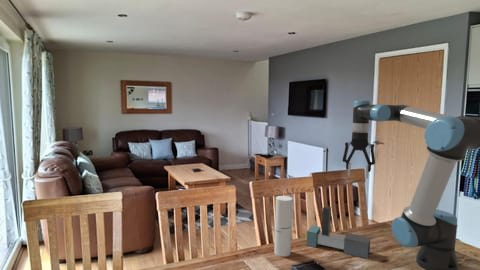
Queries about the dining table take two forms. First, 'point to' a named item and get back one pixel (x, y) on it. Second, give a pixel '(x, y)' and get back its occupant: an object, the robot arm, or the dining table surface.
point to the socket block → (312, 235)
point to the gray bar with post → (325, 235)
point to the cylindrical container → (283, 226)
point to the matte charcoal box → (357, 245)
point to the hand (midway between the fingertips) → (357, 176)
